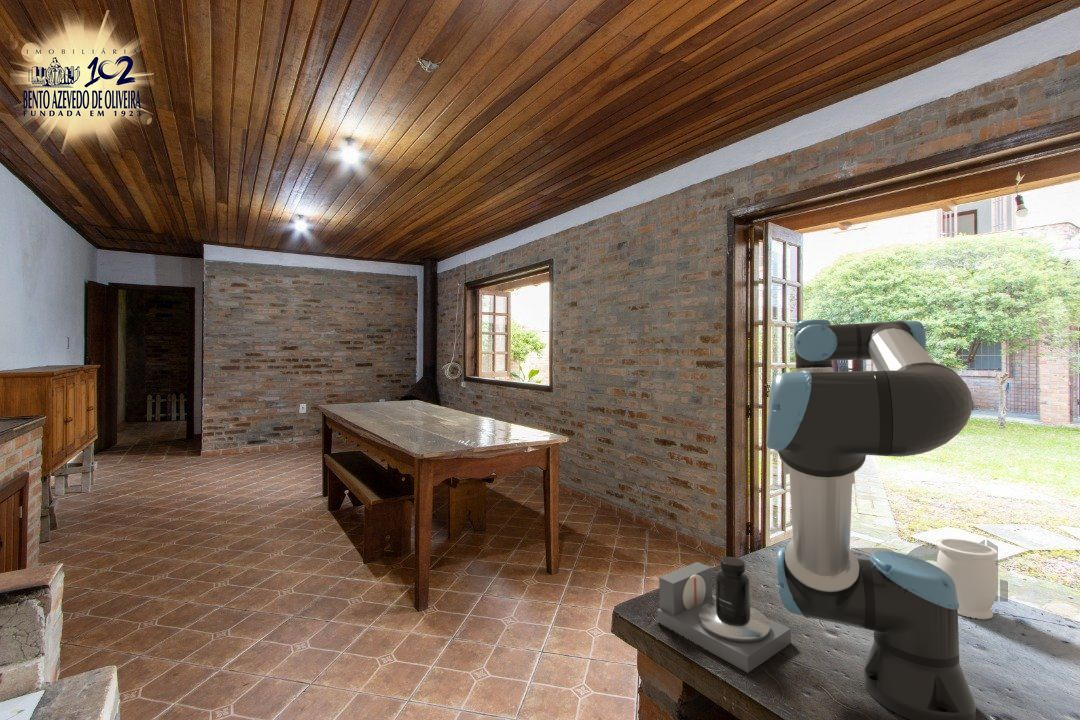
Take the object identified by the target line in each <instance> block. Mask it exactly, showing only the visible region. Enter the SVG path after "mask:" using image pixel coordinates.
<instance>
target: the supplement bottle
mask: <svg viewBox="0 0 1080 720" xmlns="http://www.w3.org/2000/svg"><path fill="white" fill-rule="evenodd" d="M745 563H746V562H744V560H742V559H741V558H737V557H733V556H723V557H721V559H720V565H719V566H720V567H719V568H720V569H719V570H718V571H717V572H716V574H715V596H716V613H717V616H718V617H719V618H720V619H721V620H722V621H724V622H726V623H729V624H733V625H744V624H747V623H748V622H749V621H750V607H751V581H750V580H751V579H750V577H749V576H748V575H747V574H746V567H745V566H746V565H745Z"/></svg>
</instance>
